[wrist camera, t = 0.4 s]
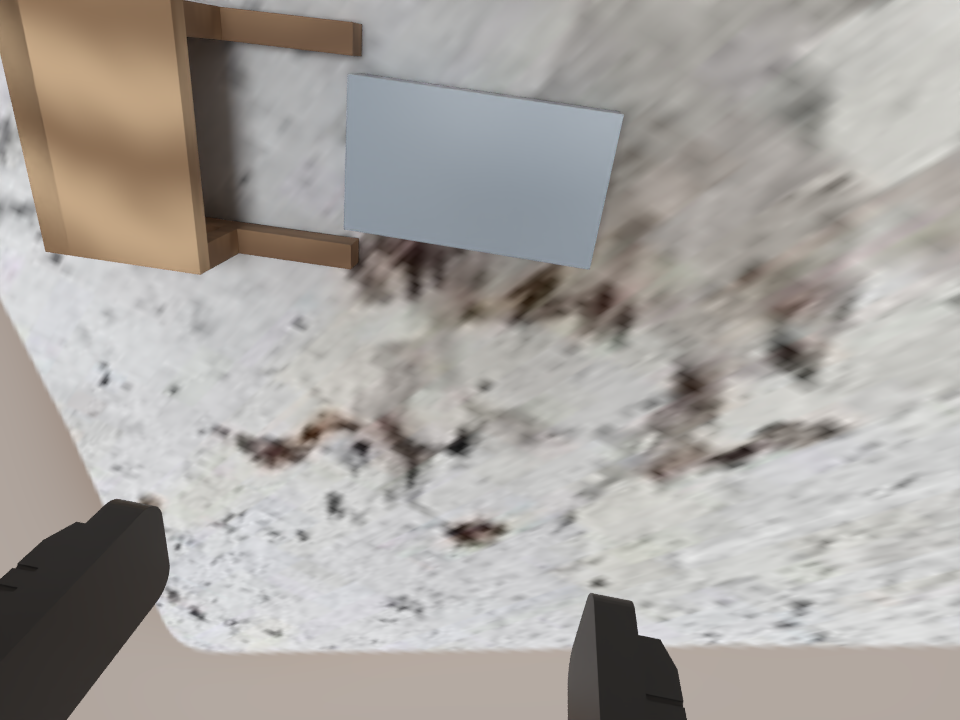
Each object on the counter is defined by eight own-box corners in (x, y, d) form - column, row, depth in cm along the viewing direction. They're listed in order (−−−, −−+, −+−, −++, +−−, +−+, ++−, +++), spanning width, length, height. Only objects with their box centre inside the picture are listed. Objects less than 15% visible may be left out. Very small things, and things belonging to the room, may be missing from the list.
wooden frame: (75, -9, 32) (-18, -25, 27) (361, 24, 31) (321, 14, 26) (116, 227, 38) (45, 251, 33) (358, 262, 37) (324, 293, 32)
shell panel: (365, 73, 33) (347, 73, 30) (619, 110, 32) (623, 114, 29) (360, 217, 36) (343, 229, 34) (587, 254, 35) (589, 269, 33)
